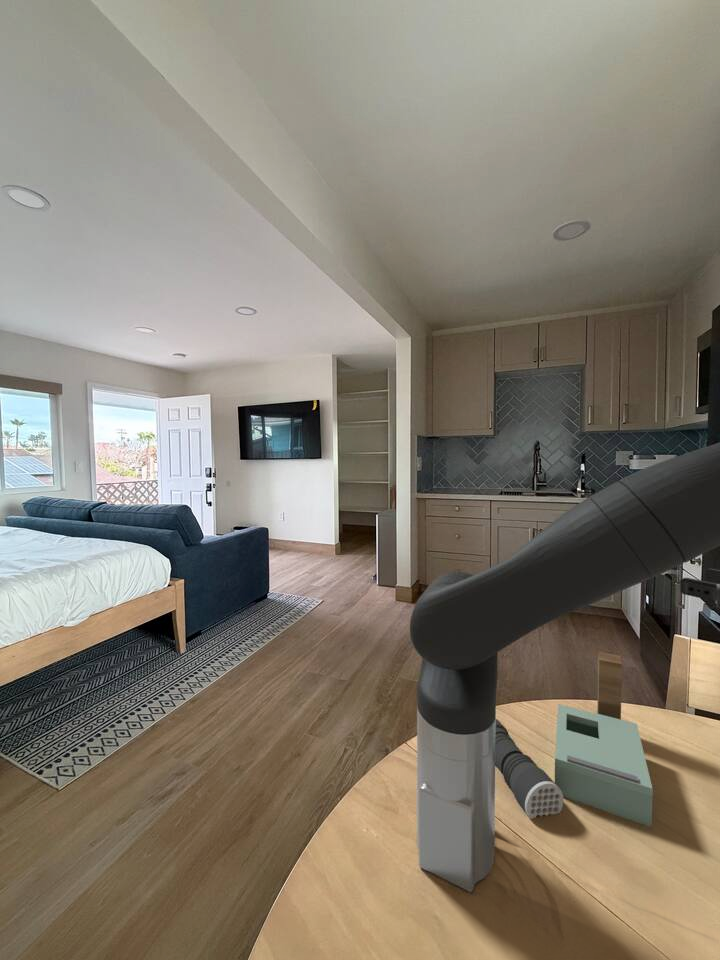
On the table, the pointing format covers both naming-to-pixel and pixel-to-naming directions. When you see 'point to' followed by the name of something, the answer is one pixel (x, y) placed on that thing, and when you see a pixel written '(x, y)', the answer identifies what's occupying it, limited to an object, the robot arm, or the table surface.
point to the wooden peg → (609, 685)
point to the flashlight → (526, 777)
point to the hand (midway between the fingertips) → (694, 580)
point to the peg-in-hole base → (602, 764)
